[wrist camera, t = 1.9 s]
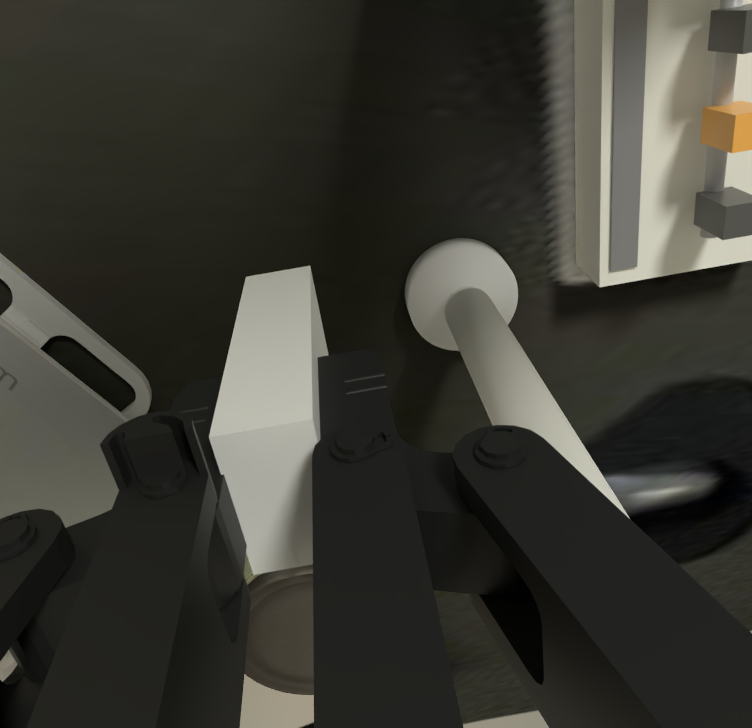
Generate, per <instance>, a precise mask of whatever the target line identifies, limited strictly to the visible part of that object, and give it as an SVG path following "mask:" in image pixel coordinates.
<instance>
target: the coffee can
mask: <svg viewBox="0 0 752 728" xmlns="http://www.w3.org/2000/svg"><path fill="white" fill-rule="evenodd" d="M244 576H245V579H246V582H247V585H248V588H249V592H250V598H251V605H250V616H249V627H248V638H247V649H246V660H245V671H244V674H246V675H247V676H248V677H250V678H251V679H253V680H254V681H256V682H258V683H260V684H262V685H264V686H266V687H269V688H272V689H275V690H278V691H281V692H285V693H292V694H301V695H314V644H313V564H312V565H306V566H301V567H295V568H289V569H284V570H278V571H273V572H267V573H261V574H256V575H253V572H252V569H251V566H250V563H249V560H248V557H247V553H246V557H245V566H244Z"/></svg>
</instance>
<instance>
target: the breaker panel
mask: <svg viewBox="0 0 752 728" xmlns="http://www.w3.org/2000/svg"><path fill="white" fill-rule="evenodd" d="M751 3H752V0H743V5H745V4H751ZM717 9H720V0H574V69H575V211H576V266H577V267H578V268H580V269H581V270H582V271H583V272H584V273H585V274H586V275H587V276H588V277H589V278H590V279H591V280H592V281H593V282H594V283H595V284H596V285H597V286H598V287H605V286H610V285H616V284H622V283H627V282H633V281H638V280H644V279H650V278H655V277H661V276H666V275H672V274H677V273H683V272H689V271H694V270H700V269H705V268H711V267H717V266H722V265H728V264H733V263H739V262H745V261H750V260H752V235H749V236H744V237H738V238H733V239H727V240H721V239H720V238H718V237H716V238H702V237H700V227H698V226H696V225H694V212H695V200H696V193H697V192H703V191H704V182H705V170H706V159H707V147H708V145H706V144H703V143H700V139H701V127H702V114H703V107H708V106H711V101H712V90H713V78H714V67H715V55H716V52H715V51H708V41H709V29H710V16H711V10H717ZM736 101H745V102H750V103H752V53H746V54H738V56H737V66H736V76H735V86H734V96H733V102H736ZM731 186H732V187H734V188H737V189H739V190H741V191H744V192H746V193H749V194H751V195H752V150H748V151H742V152H737V153H729V152H728V155H727V165H726V174H725V184H724V188H725V187H731Z"/></svg>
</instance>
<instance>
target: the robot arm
mask: <svg viewBox="0 0 752 728" xmlns="http://www.w3.org/2000/svg"><path fill="white" fill-rule="evenodd" d="M100 447H101V449H102V452H103V454H104V456H105V459H106V461H107V463H108V466H109V468H110V470H111V473H112V475H113V478H114V480H115V482H116V485H117V487H118V489H119V492H118V494H117V497H116V500H115V502H114V505H113V507H112V509H111V510H109V511H107V512H104V513H102V514H100V515H98V516H95V517H93V518H90V519H87V520H85V521H82V522H80V523H77V524H74V525H72V526H69V527H67V528H65V526H64V524H63V522H62V520H61V518H60V517H59V516H58V515H57V514H56V513H55V512H54V511H51V510H45V509H33V510H27V511H21V512H18V513H14V514H12V515H9V516H6V517H4V518H1V519H0V661H1V660H2V659H3V657H4V656H5V654H6V653H7V652H8V650H9V651H10V653H11V655H12V656H13V658H14V659H15V661H16V663H17V666H16V667H15V669H14V670H13V672H12V673H11V674H10V675H9V676H8V677H7V678H6V679H5V680H4V681H3V682H2V681H1V680H0V728H239V726H240V715H241V704H242V693H243V682H244V671H245V660H246V649H247V638H248V627H249V616H250V605H251V598H250V592H249V588H248V585H247V582H246V579H245V576H244V566H245V557H246V553H247V557H248V560H249V563H250V566H251V569H252V572H253V575H256V574H261V573H267V572H273V571H278V570H284V569H289V568H295V567H301V566H306V565H312V564H313V644H314V728H463V724H462V719H461V715H460V710H459V706H458V701H457V696H456V692H455V687H454V683H453V678H452V673H451V669H450V664H449V660H448V655H447V650H446V646H445V641H444V637H443V632H442V628H441V623H440V618H439V614H438V609H437V605H436V600H435V595H434V591H433V590H439V591H449V592H459V593H469V595H470V598H471V601H472V604H473V605H474V607H475V609H476V610H477V612H478V613H479V615H480V617H481V618H482V620H483V622H484V623H485V625H486V626H487V628H488V630H489V631H490V633H491V634H492V636H493V638H494V639H495V641H496V642H497V644H498V646H499V647H500V649H501V651H502V652H503V654H504V655H505V657H506V659H507V660H508V662H509V663H510V665H511V667H512V668H513V670H514V672H515V673H516V675H517V676H518V678H519V680H520V681H521V683H522V684H523V686H524V688H525V689H526V691H527V692H528V694H529V696H530V697H531V699H532V701H533V702H534V704H535V705H536V707H537V709H538V710H539V712H540V713H541V715H542V717H543V718H544V720H545V721H546V723H547V725H548V726H549V728H752V633H751V632H749V631H748V630H747V629H746V628H745V627H744V626H743V625H742V624H741V623H740V622H739V621H738V620H737V619H736V618H735V617H734V616H732V615H731V614H730V613H729V612H728V611H727V610H726V609H725V608H724V607H723V606H722V605H721V604H720V603H719V602H718V601H717V600H715V599H714V598H713V597H712V596H711V595H710V594H709V593H708V592H707V591H706V590H705V589H704V588H703V587H702V586H701V585H699V584H698V583H697V582H696V581H695V580H694V579H693V578H692V577H691V576H690V575H689V574H688V573H687V572H686V571H685V570H684V569H682V568H681V567H680V566H679V565H678V564H677V563H676V562H675V561H674V560H673V559H672V558H671V557H670V556H669V555H668V554H666V553H665V552H664V551H663V550H662V549H661V548H660V547H659V546H658V545H657V544H656V543H655V542H654V541H653V540H652V539H651V538H649V537H648V536H647V535H646V534H645V533H644V532H643V531H642V530H641V529H640V528H639V527H638V526H637V525H636V524H635V523H634V522H632V521H631V520H630V519H629V518H628V517H627V516H626V515H625V514H624V513H623V512H622V511H621V510H620V509H619V508H618V507H616V506H615V505H614V504H613V503H612V502H611V501H610V500H609V499H608V498H607V497H606V496H605V495H604V494H603V493H602V492H601V491H599V490H598V489H597V488H596V487H595V486H594V485H593V484H592V483H591V482H590V481H589V480H588V479H587V478H586V477H585V476H584V475H582V474H581V473H580V472H579V471H578V470H577V469H576V468H575V467H574V466H573V465H572V464H571V463H570V462H569V461H568V460H566V459H565V458H564V457H563V456H562V455H561V454H560V453H559V452H558V451H557V450H556V449H555V448H554V447H553V446H552V445H551V444H549V443H548V442H547V441H546V440H545V439H544V438H543V437H541V436H540V435H538V434H537V433H535V432H533V431H532V430H530V429H526V428H522V427H518V426H515V425H494V426H489V427H484V428H479V429H477V430H475V431H473V432H471V433H469V434H467V435H465V436H464V437H463V438H462V439H461V440H460V441H459V442H458V443H457V444H456V445H455V449H454V453H439V452H430V451H425V450H421V449H418V448H415V447H413V446H411V445H409V444H408V443H406V442H405V441H404V440H403V439H402V438H401V437H400V436H399V434H398V432H397V429H396V425H395V420H394V416H393V411H392V406H391V402H390V397H389V393H388V388H387V384H386V379H385V375H384V370H383V365H382V361H381V358H379V357H378V356H377V355H376V354H374V353H373V352H372V351H371V350H369V349H362V350H356V351H350V352H345V353H339V354H333V355H328V350H327V345H326V341H325V336H324V331H323V326H322V321H321V316H320V311H319V306H318V302H317V297H316V292H315V287H314V282H313V277H312V272H311V267H310V266H305V267H300V268H294V269H288V270H282V271H276V272H271V273H265V274H259V275H253V276H247V277H246V278H245V283H244V287H243V291H242V296H241V300H240V304H239V309H238V313H237V317H236V322H235V326H234V330H233V335H232V339H231V343H230V348H229V352H228V356H227V361H226V365H225V369H224V374H223V376H218V377H212V378H207V379H201V380H195V381H190V382H188V383H187V384H186V385H185V386H184V387H183V389H182V390H181V391H180V392H179V393H178V394H177V395H176V396H175V397H174V399H173V402H172V405H171V407H170V410H169V411H157V412H152V413H149V414H145V415H141V416H138V417H136V418H134V419H131V420H129V421H127V422H125V423H123V424H121V425H120V426H118V427H117V428H115V429H114V430H113V431H111V432H110V433H109V434H108V435H107V436H106V437H105V438H104V440H103V441H102V442H101V444H100Z"/></svg>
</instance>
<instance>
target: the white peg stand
mask: <svg viewBox="0 0 752 728" xmlns="http://www.w3.org/2000/svg"><path fill="white" fill-rule="evenodd" d="M405 301H406V305H407V309H408V312H409V315H410V318H411V320H412V323H413V325H414V327H415V328H416V330H417V331H418V333H419V334H420V335H421V336H422V337H423V338H424V339H425V340H426V341H428V342H429V343H431V344H433V345H435V346H437V347H439V348H442V349H447V350H454V351H460V353H461V355H462V358H463V360H464V362H465V364H466V367H467V369H468V371H469V373H470V376H471V378H472V380H473V382H474V385H475V387H476V389H477V391H478V394H479V396H480V398H481V400H482V403H483V405H484V407H485V409H486V412H487V414H488V416H489V418H490V421H491V423H492V425H493V426H494V425H515V426H518V427H522V428H526V429H530V430H532V431H533V432H535V433H537V434H538V435H540V436H541V437H543V438H544V439H545V440H546V441H547V442H548V443H549V444H551V445H552V446H553V447H554V448H555V449H556V450H557V451H558V452H559V453H560V454H561V455H562V456H563V457H564V458H565V459H566V460H568V461H569V462H570V463H571V464H572V465H573V466H574V467H575V468H576V469H577V470H578V471H579V472H580V473H581V474H582V475H584V476H585V477H586V478H587V479H588V480H589V481H590V482H591V483H592V484H593V485H594V486H595V487H596V488H597V489H598V490H599V491H601V492H602V493H603V494H604V495H605V496H606V497H607V498H608V499H609V500H610V501H611V502H612V503H613V504H614V505H615V506H616V507H618V508H619V509H620V510H621V511H622V512H623V513H624V514H625V515H626V516H627V517H628V518H629V516H628V515H627V513H626V512H625V510H624V509H623V507H622V505H621V504H620V502H619V501H618V499H617V498H616V496H615V494H614V493H613V491H612V490H611V488H610V486H609V485H608V483H607V482H606V480H605V479H604V477H603V475H602V474H601V472H600V471H599V469H598V468H597V466H596V464H595V463H594V461H593V460H592V458H591V456H590V455H589V453H588V452H587V450H586V449H585V447H584V445H583V444H582V442H581V441H580V439H579V437H578V436H577V434H576V433H575V431H574V430H573V428H572V426H571V425H570V423H569V422H568V420H567V419H566V417H565V415H564V414H563V412H562V411H561V409H560V407H559V406H558V404H557V403H556V401H555V400H554V398H553V396H552V395H551V393H550V392H549V390H548V389H547V387H546V385H545V384H544V382H543V381H542V379H541V377H540V376H539V374H538V373H537V371H536V370H535V368H534V366H533V365H532V363H531V362H530V360H529V359H528V357H527V355H526V354H525V352H524V351H523V349H522V347H521V346H520V344H519V343H518V341H517V340H516V338H515V336H514V335H513V333H512V332H511V330H510V329H509V327H508V324H509V322H510V321H511V319H512V317H513V315H514V313H515V310H516V306H517V302H518V287H517V282H516V279H515V276H514V274H513V272H512V270H511V269H510V268H509V266H508V265H507V263H506V262H505V261H504V260H503V258H502V257H501V256H500V255H499V254H498V253H497V251H496V250H494V249H493V248H492V247H491V246H489V245H487V244H485V243H484V242H481V241H478V240H475V239H470V238H455V239H449V240H446V241H442V242H440V243H438V244H436V245H434V246H432V247H430V248H429V249H428V250H426V251H425V252H424V253H423V254H422V255H421V256H420V257H419V258H418V259H417V260H416V261H415V263H414V264H413V266H412V267H411V269H410V271H409V274H408V276H407V279H406V284H405ZM629 519H630V518H629Z"/></svg>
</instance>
